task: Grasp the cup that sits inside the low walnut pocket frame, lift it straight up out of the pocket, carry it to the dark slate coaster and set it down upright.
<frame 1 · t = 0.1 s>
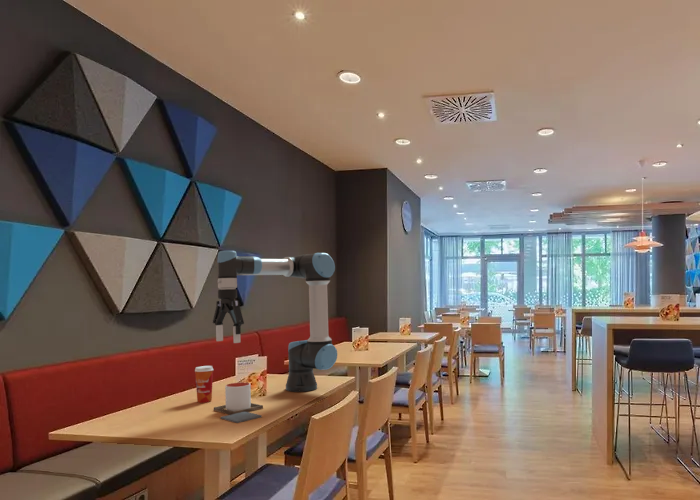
hand: (228, 342, 211), 28 cm above the table, fingers open, 13 cm apart
coaster: (241, 417, 199), on the table
cup: (238, 410, 214), resting in pocket frame
coffee cup: (204, 401, 232), on the table
pocket frame: (238, 409, 214), on the table
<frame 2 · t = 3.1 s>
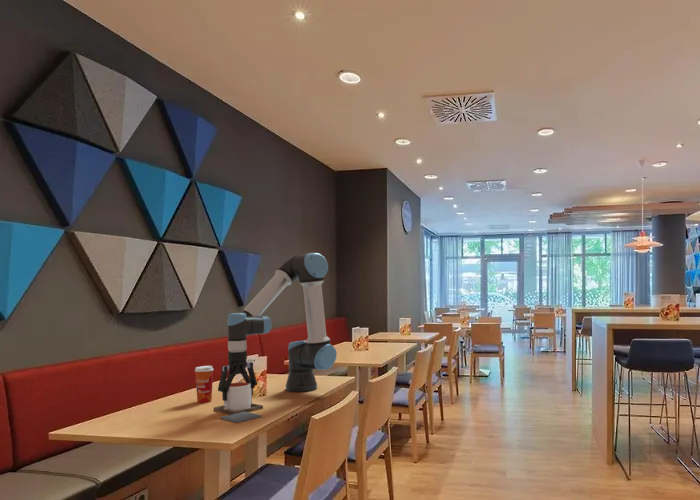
hand: (238, 406, 214), 1 cm above the table, fingers closed on cup, 10 cm apart
cup: (238, 409, 214), resting in pocket frame, touching gripper
everything else where it was.
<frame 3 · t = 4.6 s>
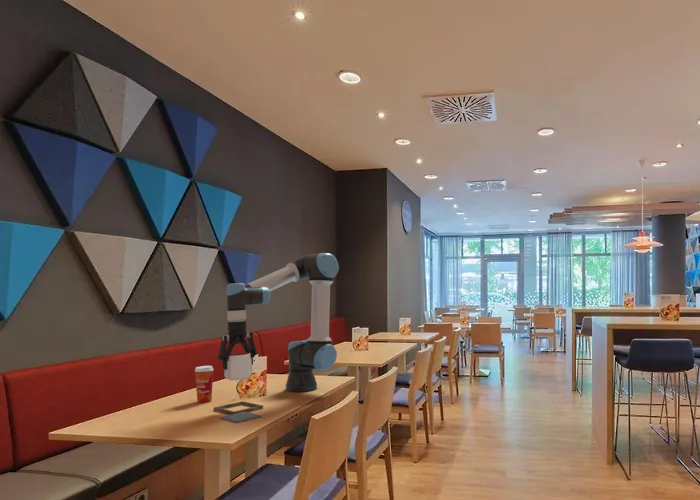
hand: (238, 375, 215), 14 cm above the table, fingers closed on cup, 10 cm apart
cup: (238, 379, 215), point 12 cm above the table, touching gripper
everything else where it was.
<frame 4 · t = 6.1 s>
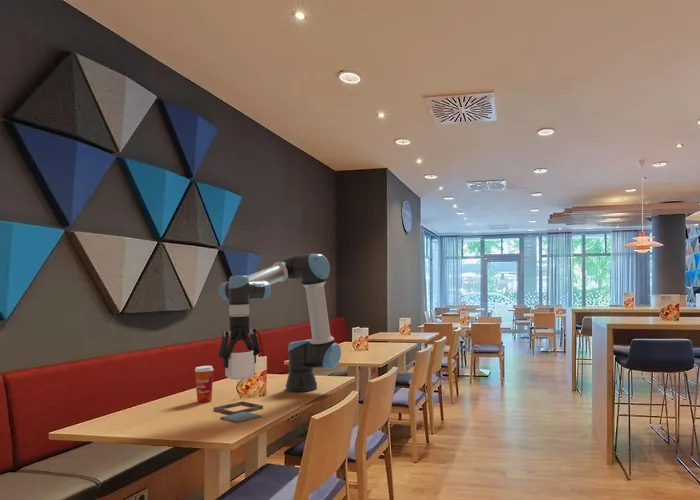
hand: (240, 374, 200), 16 cm above the table, fingers closed on cup, 10 cm apart
cup: (240, 378, 200), point 15 cm above the table, touching gripper
everything else where it was.
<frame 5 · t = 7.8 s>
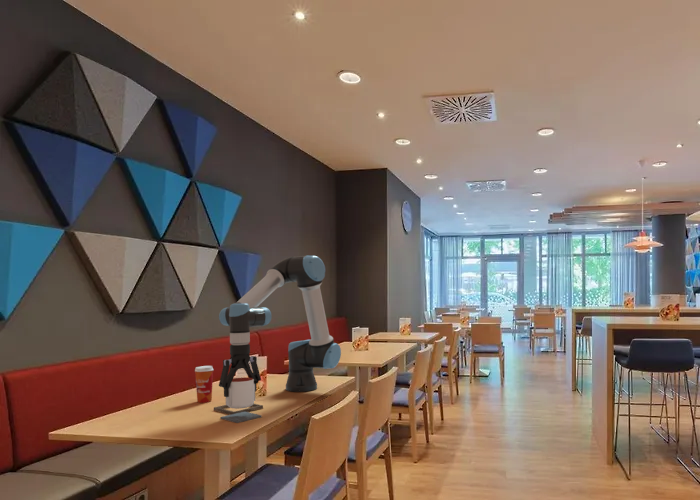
hand: (240, 403, 200), 6 cm above the table, fingers closed on cup, 10 cm apart
cup: (240, 406, 199), point 4 cm above the table, touching gripper
everything else where it was.
when the fingers open (3 cm above the table, at t = 9.3 s): cup drops 1 cm, resting on coaster.
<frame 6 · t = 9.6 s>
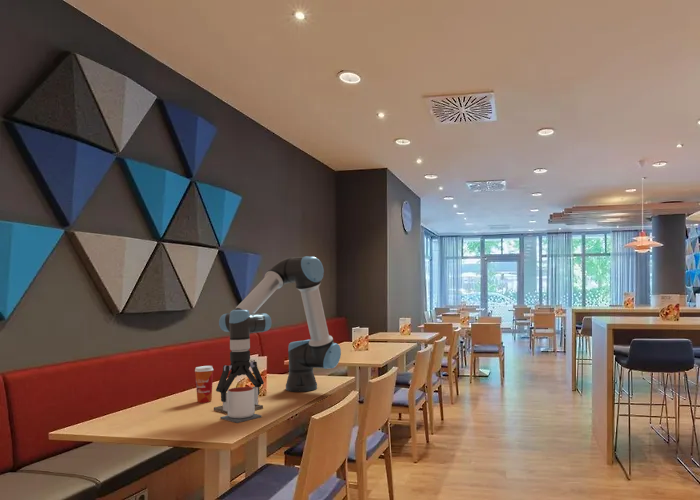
hand: (240, 407, 199), 4 cm above the table, fingers open, 13 cm apart
cup: (241, 416, 199), resting on coaster
everything else where it was.
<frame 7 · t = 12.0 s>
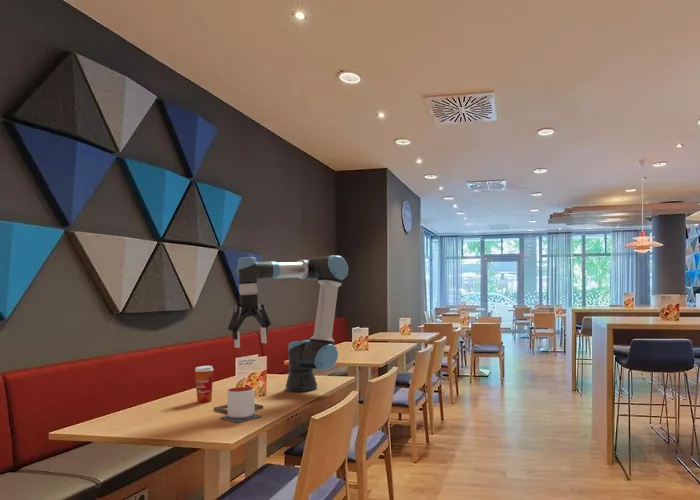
hand: (251, 345, 218), 25 cm above the table, fingers open, 13 cm apart
nothing on the table moved.
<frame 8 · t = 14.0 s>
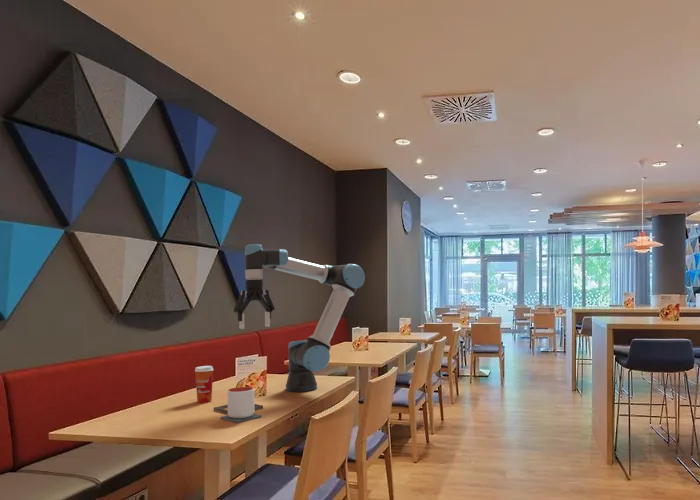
hand: (255, 327, 231), 32 cm above the table, fingers open, 13 cm apart
nothing on the table moved.
at the end: cup inside the target area on the coaster (0.1 cm from its centre), point 0.4 cm above the coaster's base; cup tilted 0°; the gripper is holding nothing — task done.
